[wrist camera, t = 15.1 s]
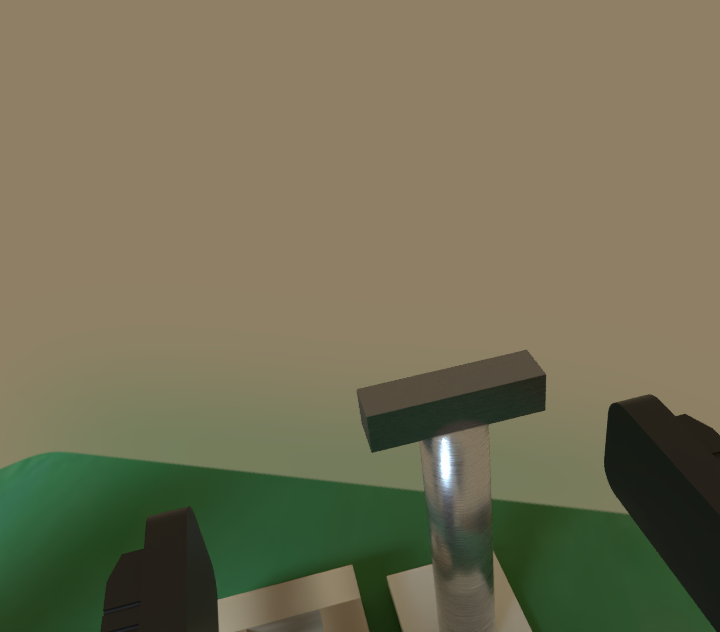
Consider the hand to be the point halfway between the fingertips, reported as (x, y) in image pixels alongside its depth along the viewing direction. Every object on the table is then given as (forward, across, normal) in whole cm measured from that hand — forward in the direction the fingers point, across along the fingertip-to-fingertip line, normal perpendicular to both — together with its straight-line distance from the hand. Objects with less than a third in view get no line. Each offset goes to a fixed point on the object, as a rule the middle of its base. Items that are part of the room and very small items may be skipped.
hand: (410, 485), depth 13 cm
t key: (+14, -5, +27) cm, 31 cm away
